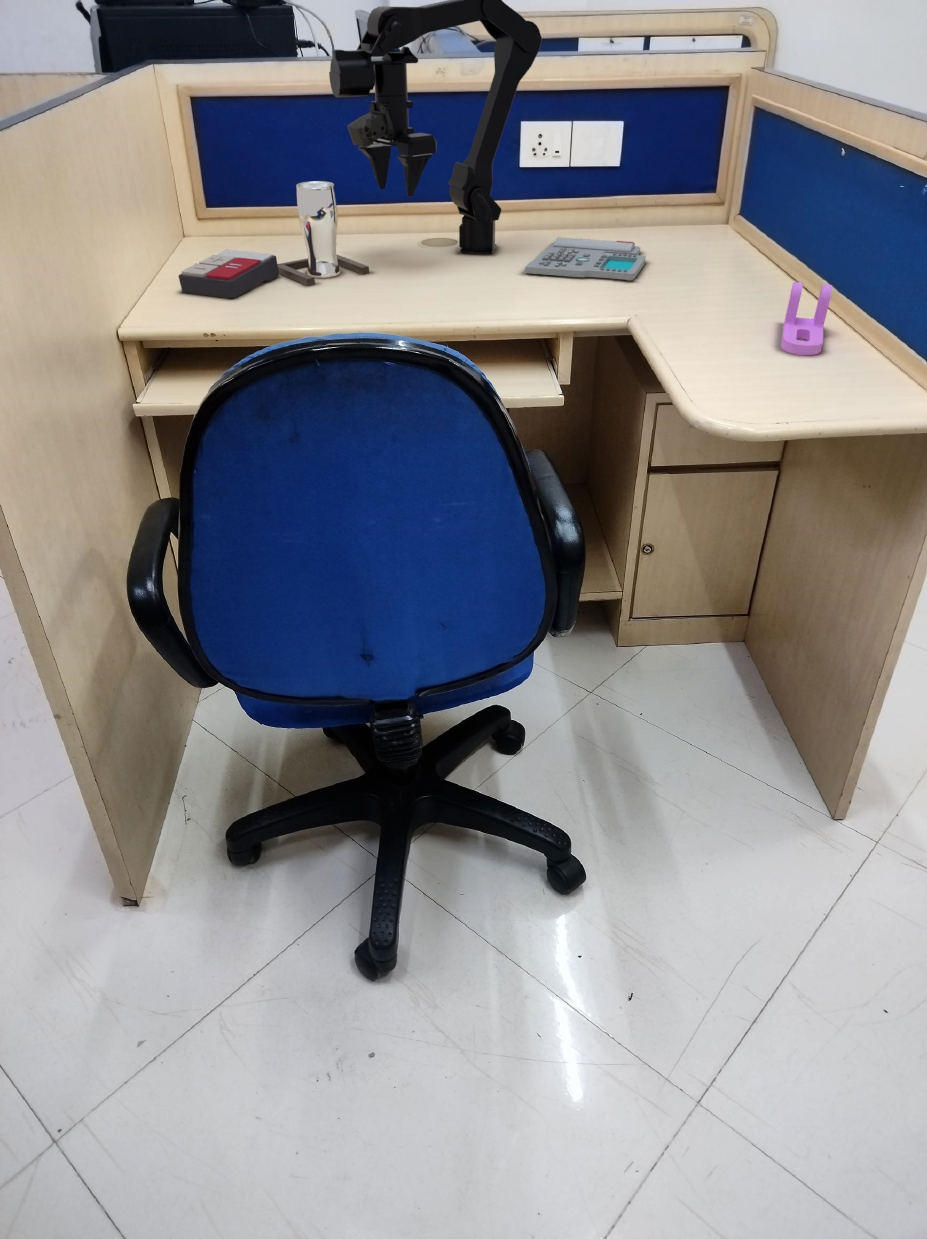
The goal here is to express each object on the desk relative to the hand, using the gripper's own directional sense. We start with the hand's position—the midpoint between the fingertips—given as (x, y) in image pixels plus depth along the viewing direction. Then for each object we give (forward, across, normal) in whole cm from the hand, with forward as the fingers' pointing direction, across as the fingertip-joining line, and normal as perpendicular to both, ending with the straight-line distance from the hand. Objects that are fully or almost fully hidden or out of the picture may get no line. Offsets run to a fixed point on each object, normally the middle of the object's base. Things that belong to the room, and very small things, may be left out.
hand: (396, 192), depth 157 cm
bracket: (+12, +76, +20) cm, 80 cm away
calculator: (+12, -6, -33) cm, 35 cm away
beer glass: (+12, -1, -16) cm, 20 cm away
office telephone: (+12, +25, +27) cm, 39 cm away
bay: (+12, -2, -16) cm, 20 cm away
